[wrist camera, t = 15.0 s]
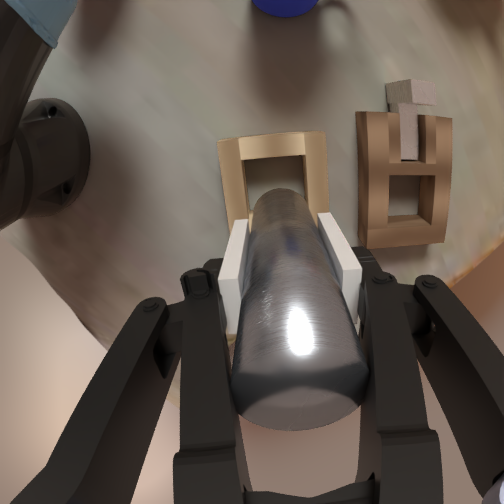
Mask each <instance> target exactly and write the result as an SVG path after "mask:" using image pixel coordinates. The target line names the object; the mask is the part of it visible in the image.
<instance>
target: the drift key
mask: <svg viewBox="0 0 504 504" xmlns="http://www.w3.org/2000/svg"><path fill="white" fill-rule="evenodd" d="M386 92H387V103H389V109H390V113H400V134H401V159H411V160H418V115H417V105H436V94H435V83H434V82H428V81H421V80H414V79H408V80H403V81H397V82H392V83H387V84H386Z"/></svg>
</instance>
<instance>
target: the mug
mask: <svg viewBox="0 0 504 504" xmlns="http://www.w3.org/2000/svg"><path fill="white" fill-rule="evenodd" d="M252 2H253V3H254V4H255V5H256V6H257V7H258V8H259V9H261V10H262V11H264V12H266V13H268V14H270V15H273V16H278V17H294V16H298V15H301V14H304V13H306V12H307V11H309V10H310V9H311V8H312V7H313V6H314V5H315V4H316V3H317V2H318V0H252Z"/></svg>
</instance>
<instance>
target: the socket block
mask: <svg viewBox="0 0 504 504" xmlns="http://www.w3.org/2000/svg"><path fill="white" fill-rule="evenodd" d="M356 125H357V144H358V178H359V211H358V237H359V238H360V240H361V241H362V243H363V244H364V246H365V247H366V249H376V248H387V247H399V246H410V245H421V244H433V243H444V240H445V233H446V226H447V219H448V210H449V200H450V189H451V173H452V118H446V117H438V116H429V115H418V160H411V159H401V134H400V113H390V112H356ZM389 175H420V193H419V208H418V215H401V216H388V204H389Z"/></svg>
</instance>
